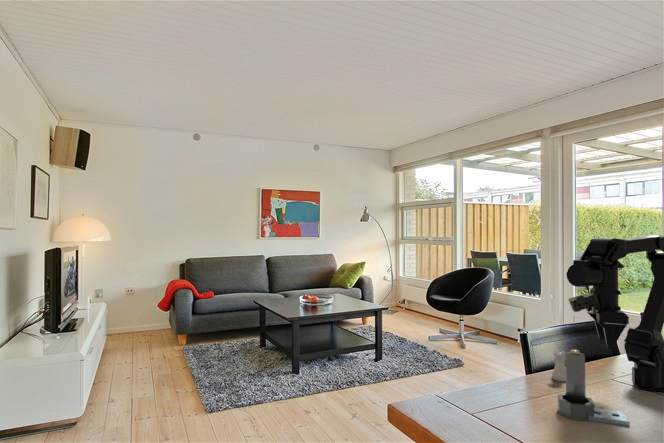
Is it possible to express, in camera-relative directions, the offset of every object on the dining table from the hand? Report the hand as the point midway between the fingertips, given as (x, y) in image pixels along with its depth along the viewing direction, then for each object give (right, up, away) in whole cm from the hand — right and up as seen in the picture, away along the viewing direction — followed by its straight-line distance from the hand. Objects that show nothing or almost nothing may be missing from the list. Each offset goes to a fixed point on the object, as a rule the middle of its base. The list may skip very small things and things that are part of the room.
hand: (605, 344), depth 112 cm
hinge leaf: (-12, -13, -14) cm, 22 cm away
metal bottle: (-15, -12, -12) cm, 23 cm away
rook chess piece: (-6, -14, +11) cm, 18 cm away
